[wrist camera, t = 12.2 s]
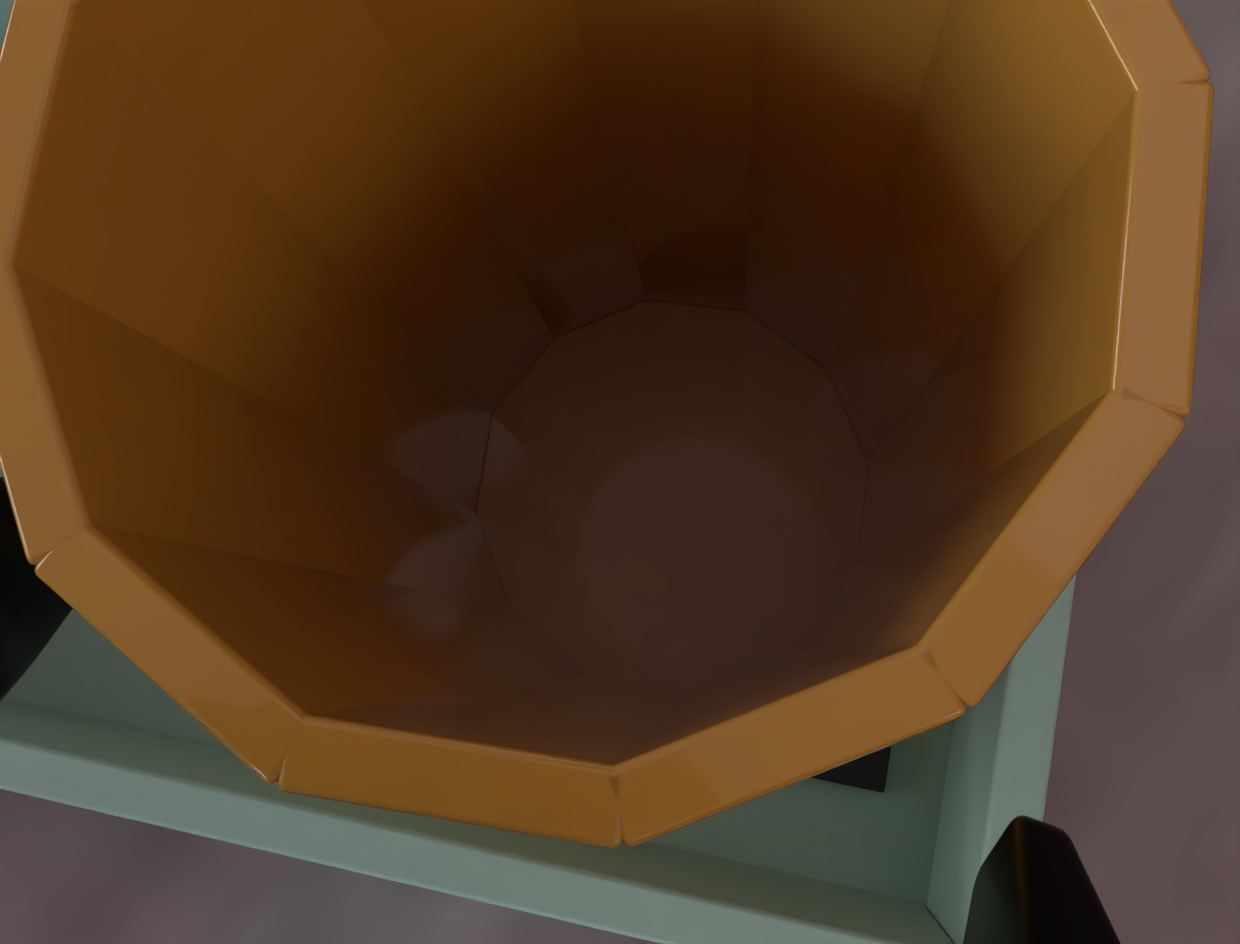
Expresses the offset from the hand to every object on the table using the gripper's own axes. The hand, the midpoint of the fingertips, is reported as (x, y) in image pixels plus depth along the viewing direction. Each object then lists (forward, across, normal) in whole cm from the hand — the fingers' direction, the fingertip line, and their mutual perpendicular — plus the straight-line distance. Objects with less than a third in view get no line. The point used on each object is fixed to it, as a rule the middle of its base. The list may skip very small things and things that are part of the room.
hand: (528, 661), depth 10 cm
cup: (+7, 0, +3) cm, 8 cm away
